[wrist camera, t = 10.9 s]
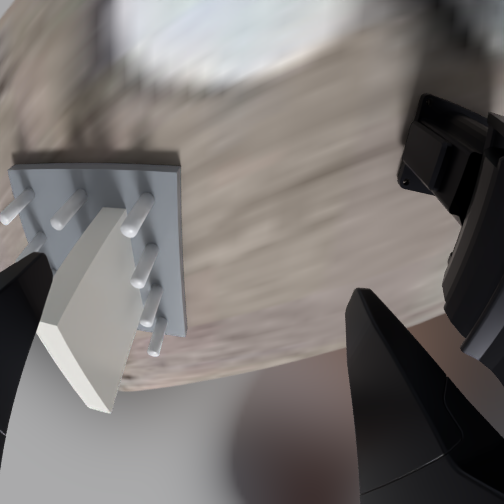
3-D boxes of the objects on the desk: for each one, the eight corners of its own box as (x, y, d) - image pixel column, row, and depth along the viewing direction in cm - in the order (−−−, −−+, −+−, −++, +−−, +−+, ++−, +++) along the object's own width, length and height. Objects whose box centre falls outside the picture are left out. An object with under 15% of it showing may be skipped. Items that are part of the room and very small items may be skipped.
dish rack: (180, 166, 19) (160, 200, 15) (187, 328, 29) (178, 369, 25) (15, 164, 18) (-21, 193, 15) (61, 307, 28) (44, 339, 25)
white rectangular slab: (126, 208, 20) (56, 326, 12) (143, 309, 26) (111, 413, 18) (102, 207, 20) (28, 318, 12) (124, 306, 26) (88, 407, 18)
